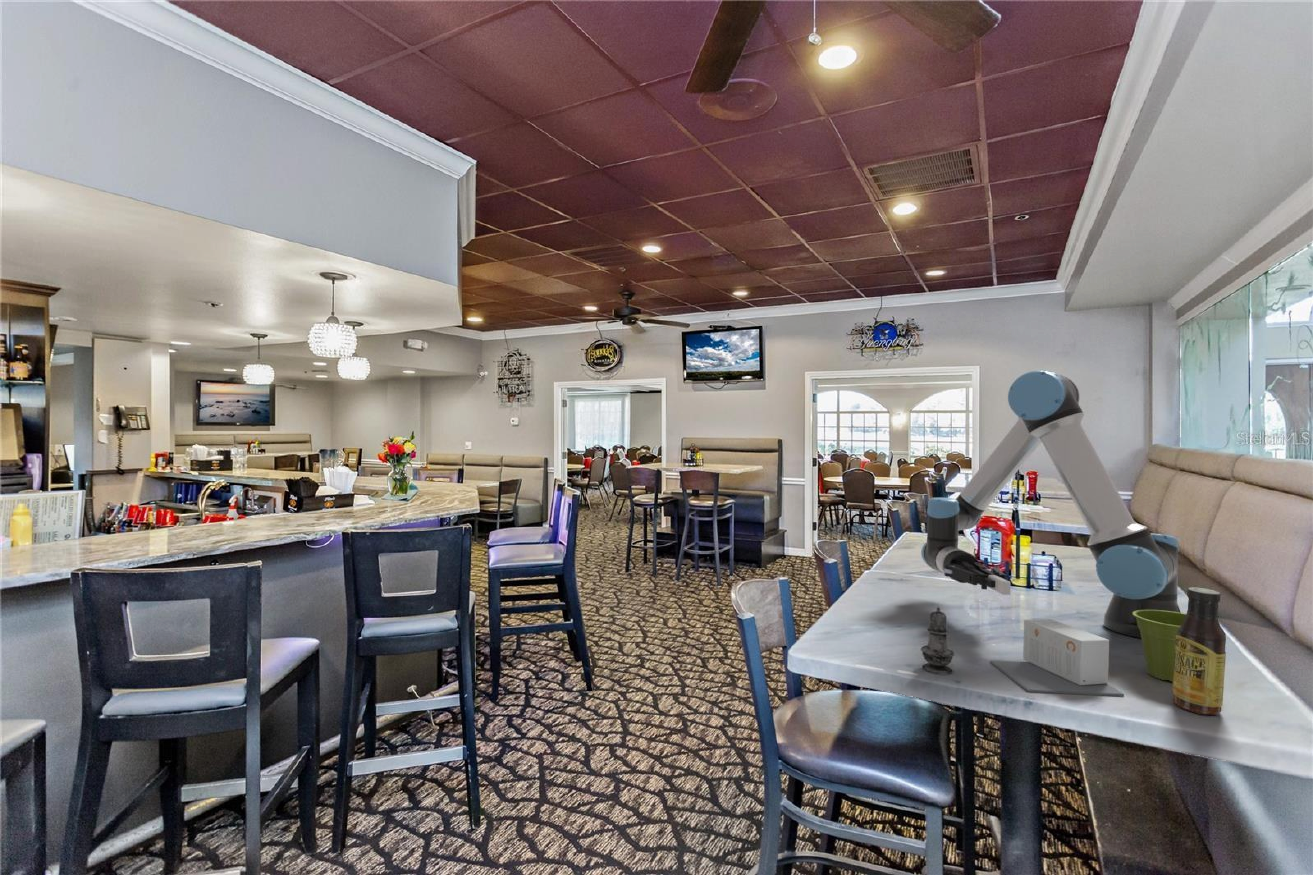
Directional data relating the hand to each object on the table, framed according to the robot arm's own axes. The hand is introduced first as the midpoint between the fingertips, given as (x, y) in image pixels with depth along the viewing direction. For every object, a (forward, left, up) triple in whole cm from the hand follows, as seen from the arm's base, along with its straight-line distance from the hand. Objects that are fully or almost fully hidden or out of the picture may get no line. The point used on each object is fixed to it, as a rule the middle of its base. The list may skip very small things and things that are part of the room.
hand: (1006, 588), depth 130 cm
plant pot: (-24, +13, -13) cm, 30 cm away
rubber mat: (-1, +16, -13) cm, 21 cm away
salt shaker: (+20, +14, -13) cm, 27 cm away
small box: (-2, +7, -8) cm, 11 cm away
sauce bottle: (-18, +27, -13) cm, 35 cm away
